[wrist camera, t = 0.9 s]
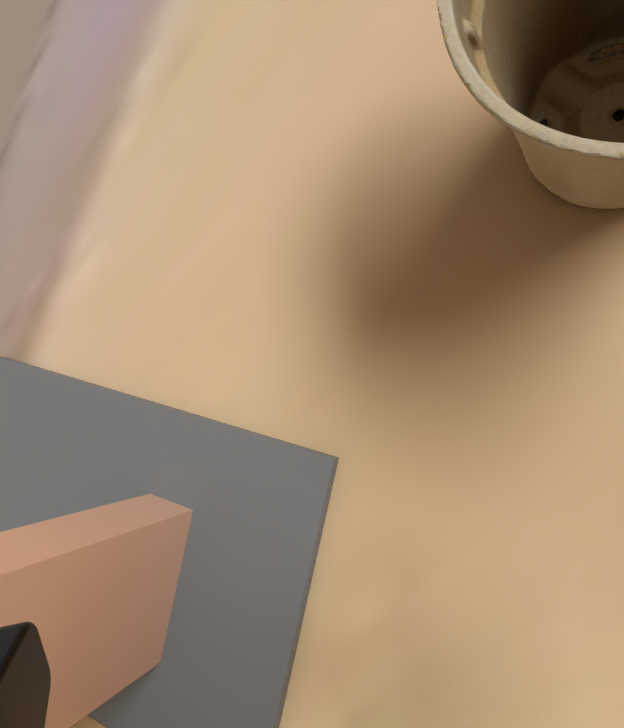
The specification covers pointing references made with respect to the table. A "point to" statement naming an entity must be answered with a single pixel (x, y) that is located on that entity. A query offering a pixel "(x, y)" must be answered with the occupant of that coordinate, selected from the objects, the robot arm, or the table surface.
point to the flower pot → (548, 86)
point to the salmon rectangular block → (95, 595)
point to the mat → (204, 541)
